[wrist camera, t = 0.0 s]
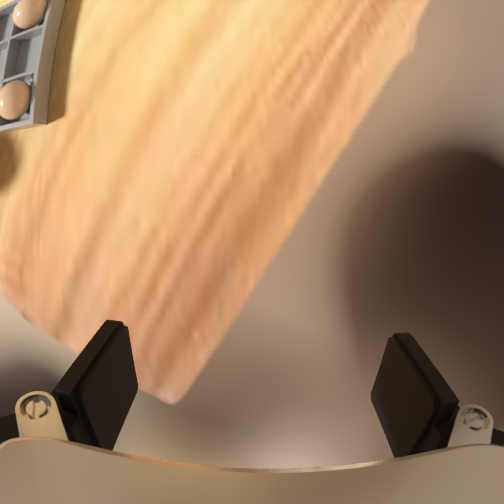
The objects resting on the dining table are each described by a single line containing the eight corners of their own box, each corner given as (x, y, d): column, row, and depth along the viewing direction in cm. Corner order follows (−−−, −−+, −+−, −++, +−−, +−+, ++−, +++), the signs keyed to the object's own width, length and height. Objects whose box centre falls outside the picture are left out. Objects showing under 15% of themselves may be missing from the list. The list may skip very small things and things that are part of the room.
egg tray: (1, 17, 29) (-10, 13, 26) (68, -10, 29) (58, -18, 26) (-17, 138, 36) (-31, 139, 33) (46, 124, 36) (32, 123, 33)
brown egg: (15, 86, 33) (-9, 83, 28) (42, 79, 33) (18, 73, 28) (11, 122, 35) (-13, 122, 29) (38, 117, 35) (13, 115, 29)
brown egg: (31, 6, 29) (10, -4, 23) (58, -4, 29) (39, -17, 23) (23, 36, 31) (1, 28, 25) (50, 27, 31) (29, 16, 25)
